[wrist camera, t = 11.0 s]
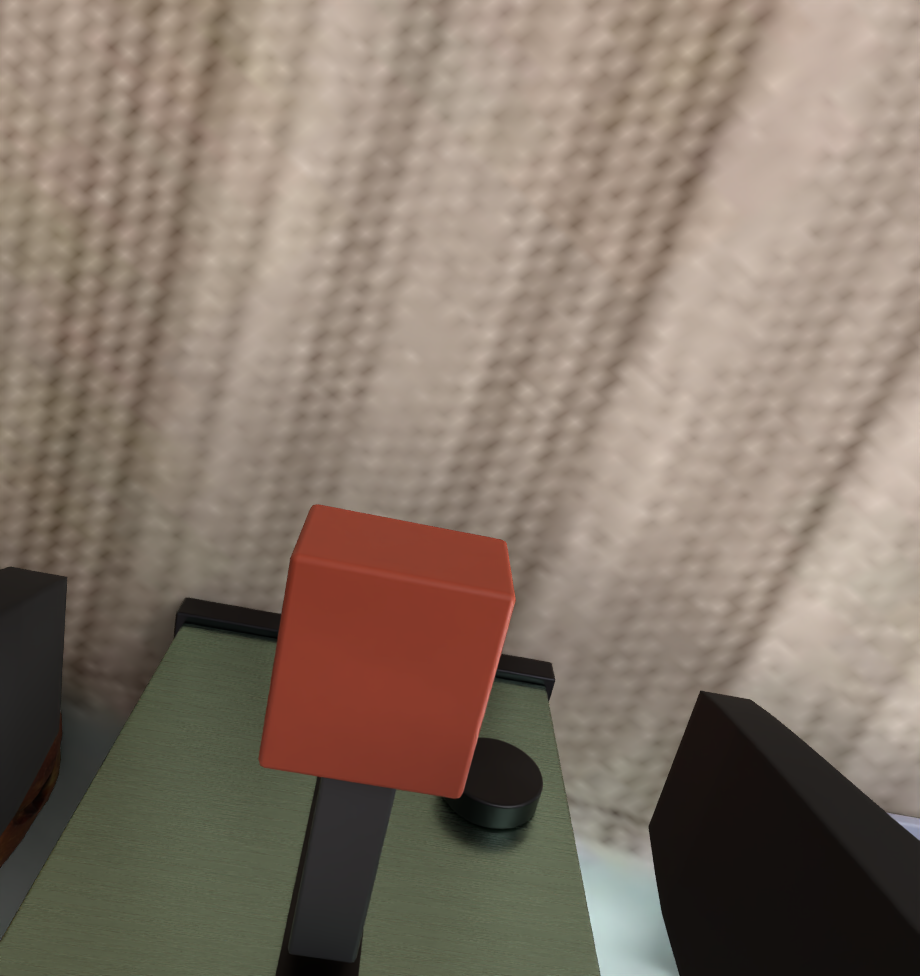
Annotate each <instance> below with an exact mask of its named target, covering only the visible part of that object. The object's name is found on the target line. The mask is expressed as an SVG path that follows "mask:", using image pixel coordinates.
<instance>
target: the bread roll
mask: <svg viewBox="0 0 920 976" xmlns="http://www.w3.org/2000/svg"><path fill="white" fill-rule="evenodd" d="M61 738H62V714H61V711H60V724H59V732H58V734H57V736H56V738H55V740H54V742H53V744H52V746H51V748H50V750H49V752H48V754H47V756H46V758H45V760H44V762H43V764H42V766H41V768H40V770H39V772H38V773H37V775H36V777H35V779H34V781H33V783H32V785H31V787H30V788H29V790H28V792H27V794H26V796H25V798H24V799H23V801H22V803H21V805H20V807H19V809H18V811H17V812H16V814H15V816H14V817H13V819H12V820H11V822H10V823H9V825H8V826H7V828H6V829H5V830H4V832H3V833H2V835H1V836H0V868H1V866H2V865H3V864H4V863H5V861H6V860H7V859H8V858H9V856H10V855H11V854H12V853H13V851H14V850H15V849H16V847H17V846H18V845H19V843H20V842H21V841H22V840H23V838H24V837H25V835H26V833H27V831H28V830H29V828H30V826H31V825H32V823H33V821H34V820H35V818H36V817H37V815H38V813H39V812H40V811H41V809H42V808H43V806H44V805H45V803H46V802H47V801H48V799H49V797H50V795H51V792H52V790H53V788H54V786H55V784H56V781H57V778H58V775H59V769H60V761H61V752H60V743H61Z"/></svg>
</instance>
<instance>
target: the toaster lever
mask: <svg viewBox="0 0 920 976" xmlns="http://www.w3.org/2000/svg"><path fill="white" fill-rule="evenodd" d="M515 601H516V599H515V593H514V587H513V580H512V574H511V568H510V562H509V555H508V549H507V543H506V542H505V541H503V540H501V539H495V538H490V537H485V536H480V535H475V534H470V533H464V532H459V531H454V530H449V529H444V528H438V527H433V526H428V525H423V524H418V523H412V522H407V521H402V520H397V519H392V518H386V517H381V516H376V515H371V514H366V513H360V512H355V511H350V510H345V509H340V508H334V507H329V506H324V505H319V504H318V505H313V506H312V507H311V509H310V510H309V513H308V515H307V518H306V520H305V523H304V525H303V528H302V530H301V533H300V535H299V538H298V540H297V543H296V545H295V548H294V550H293V553H292V555H291V558H290V563H289V570H288V576H287V582H286V589H285V595H284V601H283V607H282V614H281V620H280V626H279V632H278V639H277V645H276V651H275V657H274V664H273V670H272V676H271V683H270V689H269V695H268V701H267V708H266V714H265V720H264V726H263V733H262V739H261V745H260V751H259V758H258V759H259V763H260V766H262V767H264V768H269V769H275V770H281V771H287V772H293V773H299V774H306V775H312V776H318V777H321V780H320V785H319V790H318V795H317V800H316V806H315V811H314V816H313V821H312V826H311V831H310V836H309V841H308V847H307V852H306V857H305V862H304V867H303V872H302V877H301V882H300V888H299V893H298V898H297V903H296V908H295V913H294V918H293V924H292V929H291V934H290V939H289V944H288V951H289V953H290V954H292V955H298V956H306V957H313V958H320V959H327V960H334V961H341V962H348V963H352V962H354V961H355V960H356V958H357V954H358V950H359V946H360V942H361V937H362V933H363V929H364V925H365V920H366V916H367V912H368V908H369V904H370V899H371V895H372V891H373V887H374V882H375V878H376V874H377V870H378V866H379V861H380V857H381V853H382V849H383V844H384V840H385V836H386V832H387V828H388V823H389V819H390V815H391V811H392V806H393V802H394V798H395V794H396V790H397V789H398V790H404V791H410V792H416V793H423V794H429V795H435V796H441V797H447V798H453V799H456V798H460V796H461V795H462V793H463V791H464V788H465V784H466V780H467V777H468V773H469V769H470V766H471V762H472V758H473V755H474V751H475V747H476V744H477V740H478V736H479V733H480V729H481V725H482V722H483V718H484V715H485V711H486V707H487V704H488V700H489V696H490V693H491V689H492V685H493V682H494V678H495V674H496V671H497V667H498V663H499V660H500V656H501V652H502V649H503V645H504V641H505V638H506V634H507V630H508V627H509V623H510V619H511V616H512V612H513V608H514V605H515Z"/></svg>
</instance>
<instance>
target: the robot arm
mask: <svg viewBox="0 0 920 976" xmlns="http://www.w3.org/2000/svg"><path fill="white" fill-rule="evenodd" d="M66 591H67V577H65V576H59V575H53V574H48V573H42V572H37V571H31V570H26V569H20V568H14V567H7V568H4V569H1V570H0V836H1V835H2V833H3V832H4V830H5V829H6V828H7V826H8V825H9V823H10V822H11V820H12V819H13V817H14V816H15V814H16V812H17V811H18V809H19V807H20V805H21V803H22V801H23V799H24V798H25V796H26V794H27V792H28V790H29V788H30V787H31V785H32V783H33V781H34V779H35V777H36V775H37V773H38V772H39V770H40V768H41V766H42V764H43V762H44V760H45V758H46V756H47V754H48V752H49V750H50V748H51V746H52V744H53V742H54V740H55V738H56V736H57V734H58V732H59V724H60V705H61V686H62V667H63V648H64V629H65V610H66ZM649 834H650V841H651V848H652V855H653V863H654V870H655V876H656V882H657V888H658V893H659V899H660V905H661V911H662V915H663V919H664V922H665V926H666V930H667V933H668V937H669V940H670V944H671V947H672V951H673V954H674V958H675V961H676V965H677V968H678V972H679V975H680V976H920V818H915V817H909V816H903V815H898V814H892V813H886V812H885V811H884V810H883V809H882V808H880V807H879V806H878V805H877V804H876V803H875V802H873V801H872V800H871V799H870V798H869V797H868V796H866V795H865V794H864V793H863V792H862V791H861V790H860V789H858V788H857V787H856V786H855V785H854V784H853V783H851V782H850V781H849V780H848V779H847V778H846V777H845V776H843V775H842V774H841V773H840V772H839V771H838V770H836V769H835V768H834V767H833V766H832V765H831V764H830V763H828V762H827V761H826V760H825V759H824V758H823V757H821V756H820V755H819V754H818V753H817V752H816V751H814V750H813V749H812V748H811V747H810V746H809V745H807V744H806V743H805V742H804V741H803V740H802V739H800V738H799V737H798V736H797V735H796V734H794V733H793V732H792V731H791V730H790V729H788V728H787V727H786V726H785V725H784V724H782V723H781V722H780V721H779V720H777V719H776V718H775V717H774V716H772V715H771V714H770V713H768V712H767V711H766V710H764V709H763V708H762V707H760V706H759V705H757V704H756V703H755V702H753V701H752V700H750V699H744V698H739V697H733V696H728V695H722V694H717V693H711V692H705V691H700V693H699V695H698V698H697V701H696V703H695V706H694V709H693V711H692V714H691V716H690V719H689V722H688V724H687V727H686V730H685V732H684V735H683V737H682V740H681V743H680V745H679V748H678V751H677V753H676V756H675V759H674V761H673V764H672V766H671V769H670V772H669V774H668V777H667V780H666V782H665V785H664V787H663V790H662V793H661V795H660V798H659V801H658V803H657V806H656V808H655V811H654V814H653V816H652V819H651V822H650V824H649Z"/></svg>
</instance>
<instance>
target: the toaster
mask: <svg viewBox="0 0 920 976" xmlns="http://www.w3.org/2000/svg"><path fill="white" fill-rule="evenodd" d="M280 620H281V614H277V613H271V612H266V611H260V610H255V609H249V608H243V607H238V606H232V605H227V604H221V603H216V602H210V601H204V600H199V599H193V598H185V599H184V601H183V603H182V604H181V606H180V608H179V609H178V611H177V613H176V619H175V628H174V638H173V642H172V643H171V645H170V647H169V649H168V650H167V652H166V654H165V656H164V657H163V659H162V661H161V663H160V664H159V666H158V668H157V669H156V671H155V673H154V675H153V676H152V678H151V680H150V682H149V683H148V685H147V687H146V689H145V690H144V692H143V694H142V696H141V697H140V699H139V701H138V703H137V704H136V706H135V708H134V709H133V711H132V713H131V715H130V716H129V718H128V720H127V722H126V723H125V725H124V727H123V729H122V730H121V732H120V734H119V736H118V737H117V739H116V741H115V742H114V744H113V746H112V748H111V749H110V751H109V753H108V755H107V756H106V758H105V760H104V762H103V763H102V765H101V767H100V769H99V770H98V772H97V774H96V775H95V777H94V779H93V781H92V782H91V784H90V786H89V788H88V789H87V791H86V793H85V795H84V796H83V798H82V800H81V802H80V803H79V805H78V807H77V809H76V810H75V812H74V814H73V815H72V817H71V819H70V821H69V822H68V824H67V826H66V828H65V829H64V831H63V833H62V835H61V836H60V838H59V840H58V842H57V843H56V845H55V847H54V848H53V850H52V852H51V854H50V855H49V857H48V859H47V861H46V862H45V864H44V866H43V868H42V869H41V871H40V873H39V875H38V876H37V878H36V880H35V881H34V883H33V885H32V887H31V888H30V890H29V892H28V894H27V895H26V897H25V899H24V901H23V902H22V904H21V906H20V908H19V909H18V911H17V913H16V915H15V916H14V918H13V920H12V921H11V923H10V925H9V927H8V928H7V930H6V932H5V934H4V935H3V937H2V939H1V941H0V976H601V975H600V970H599V965H598V959H597V954H596V949H595V944H594V938H593V933H592V928H591V923H590V917H589V912H588V907H587V902H586V896H585V891H584V886H583V881H582V875H581V870H580V865H579V860H578V854H577V849H576V844H575V839H574V833H573V828H572V823H571V818H570V812H569V807H568V802H567V797H566V791H565V786H564V781H563V776H562V770H561V765H560V760H559V755H558V749H557V744H556V739H555V733H554V728H553V723H552V718H551V712H550V707H549V700H550V696H551V693H552V690H553V686H554V683H555V676H554V672H553V667H552V663H550V662H544V661H539V660H533V659H527V658H522V657H516V656H511V655H505V654H501V656H500V660H499V663H498V667H497V671H496V674H495V678H494V682H493V685H492V689H491V693H490V696H489V700H488V704H487V707H486V711H485V715H484V718H483V722H482V725H481V729H480V733H479V736H478V740H477V744H476V747H475V751H474V755H473V758H472V762H471V766H470V769H469V773H468V777H467V780H466V784H465V788H464V791H463V793H462V795H461V796H460V798H456V799H453V798H447V797H441V796H435V795H429V794H423V793H416V792H410V791H404V790H398V789H397V790H396V794H395V798H394V802H393V806H392V811H391V815H390V819H389V823H388V828H387V832H386V836H385V840H384V844H383V849H382V853H381V857H380V861H379V866H378V870H377V874H376V878H375V882H374V887H373V891H372V895H371V899H370V904H369V908H368V912H367V916H366V920H365V925H364V929H363V933H362V937H361V942H360V946H359V950H358V954H357V958H356V960H355V961H354V962H352V963H348V962H341V961H334V960H327V959H320V958H313V957H306V956H298V955H292V954H290V953H289V951H288V944H289V939H290V934H291V929H292V924H293V918H294V913H295V908H296V903H297V898H298V893H299V888H300V882H301V877H302V872H303V867H304V862H305V857H306V852H307V847H308V841H309V836H310V831H311V826H312V821H313V816H314V811H315V806H316V800H317V795H318V790H319V785H320V780H321V777H318V776H312V775H306V774H299V773H293V772H287V771H281V770H275V769H269V768H264V767H262V766H260V763H259V759H258V758H259V751H260V745H261V739H262V733H263V726H264V720H265V714H266V708H267V701H268V695H269V689H270V683H271V676H272V670H273V664H274V657H275V651H276V645H277V639H278V632H279V626H280Z"/></svg>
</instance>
